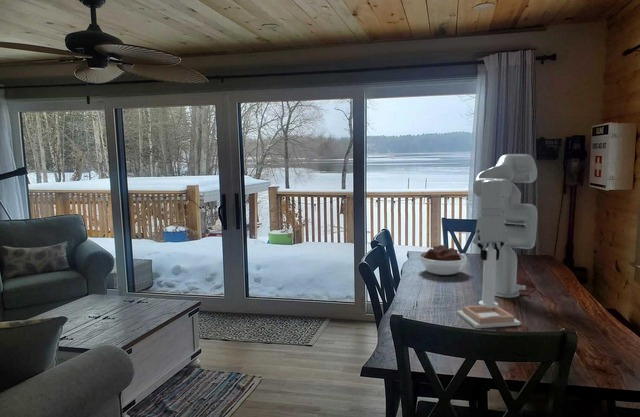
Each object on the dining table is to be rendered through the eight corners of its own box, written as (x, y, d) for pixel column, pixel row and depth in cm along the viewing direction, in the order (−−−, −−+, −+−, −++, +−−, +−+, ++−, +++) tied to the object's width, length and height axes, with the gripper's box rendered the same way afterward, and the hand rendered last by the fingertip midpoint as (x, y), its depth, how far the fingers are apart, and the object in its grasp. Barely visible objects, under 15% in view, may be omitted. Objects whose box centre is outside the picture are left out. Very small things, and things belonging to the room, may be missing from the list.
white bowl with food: (476, 276, 239) (477, 248, 237) (436, 281, 229) (437, 252, 228) (446, 265, 262) (447, 240, 260) (409, 270, 253) (410, 243, 251)
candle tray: (497, 310, 186) (498, 303, 185) (520, 325, 170) (520, 317, 170) (456, 313, 183) (456, 305, 183) (475, 328, 168) (476, 319, 167)
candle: (493, 301, 180) (495, 239, 177) (501, 307, 173) (503, 243, 170) (475, 302, 180) (477, 240, 177) (482, 308, 173) (485, 243, 170)
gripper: (506, 210, 177) (504, 256, 179) (465, 211, 174) (464, 258, 176) (517, 213, 169) (515, 260, 171) (475, 214, 167) (473, 262, 169)
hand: (489, 258), depth 174 cm, fingers closed on candle, 4 cm apart
